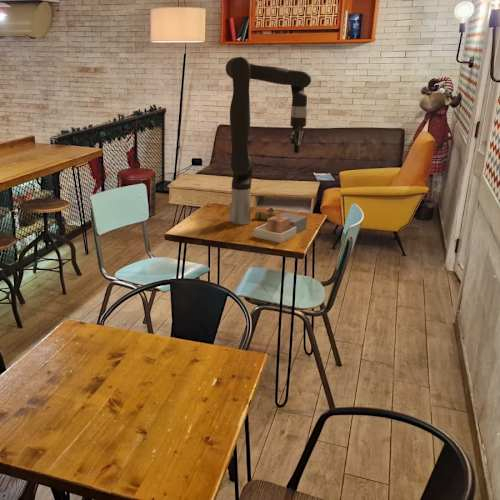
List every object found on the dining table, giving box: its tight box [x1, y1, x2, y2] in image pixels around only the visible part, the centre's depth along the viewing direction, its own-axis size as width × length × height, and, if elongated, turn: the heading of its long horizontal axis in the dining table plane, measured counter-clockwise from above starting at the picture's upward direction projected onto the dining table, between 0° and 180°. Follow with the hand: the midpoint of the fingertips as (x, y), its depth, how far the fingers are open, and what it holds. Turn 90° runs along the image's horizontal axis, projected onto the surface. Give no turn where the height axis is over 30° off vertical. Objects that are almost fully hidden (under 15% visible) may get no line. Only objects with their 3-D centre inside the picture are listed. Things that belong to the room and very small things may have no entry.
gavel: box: [254, 207, 277, 221], centre depth 247 cm, size 21×5×10 cm
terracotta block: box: [266, 214, 290, 234], centre depth 215 cm, size 7×7×8 cm
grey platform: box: [278, 212, 308, 235], centre depth 224 cm, size 12×12×6 cm
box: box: [253, 222, 297, 244], centre depth 214 cm, size 14×14×4 cm
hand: (296, 152), depth 233 cm, fingers closed
